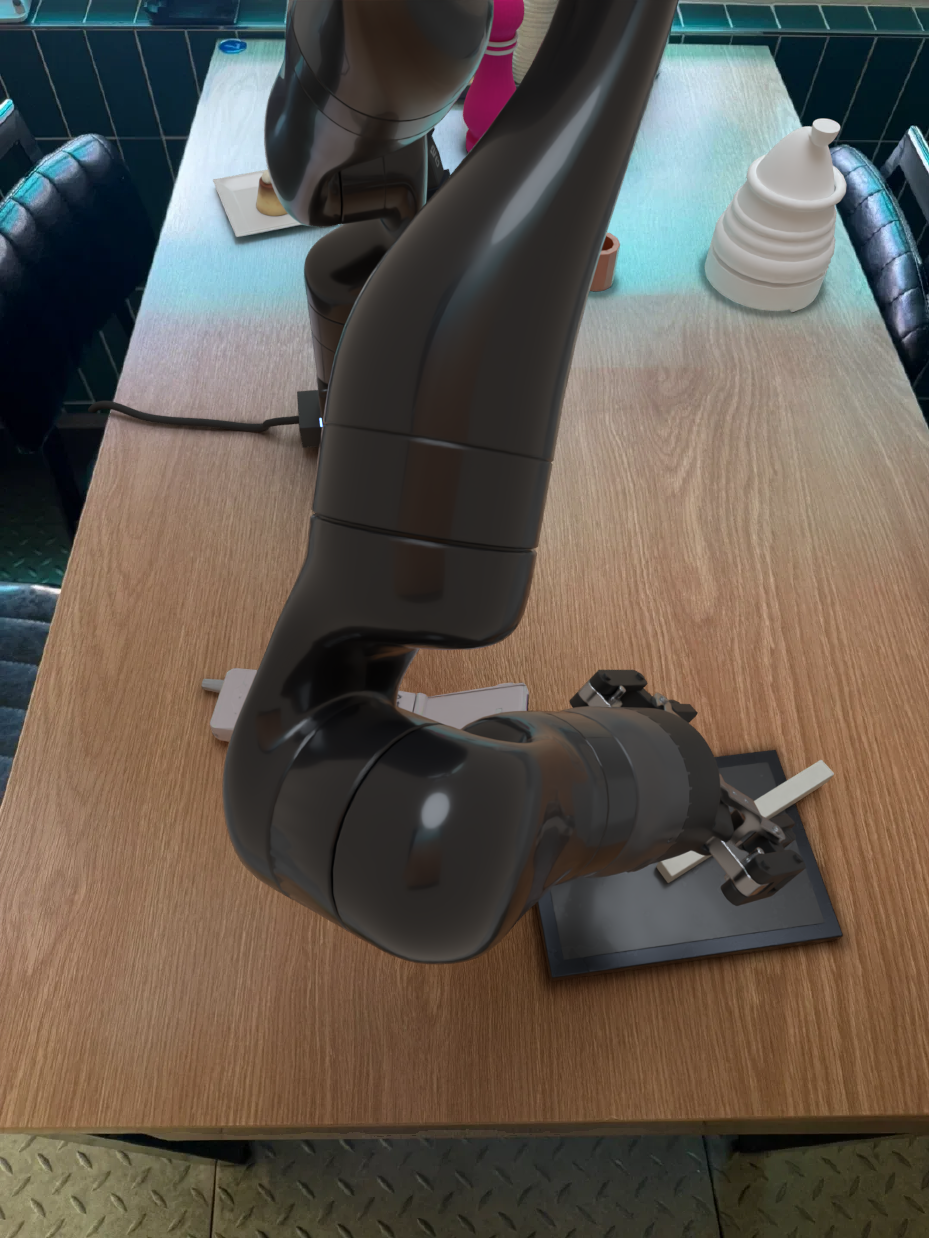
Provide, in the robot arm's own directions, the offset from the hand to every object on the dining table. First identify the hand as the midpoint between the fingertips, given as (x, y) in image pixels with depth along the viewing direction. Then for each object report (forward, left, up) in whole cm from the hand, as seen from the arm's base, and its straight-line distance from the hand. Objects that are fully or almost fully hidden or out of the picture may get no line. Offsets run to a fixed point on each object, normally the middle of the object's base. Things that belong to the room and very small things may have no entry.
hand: (729, 772), depth 57 cm
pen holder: (+8, +64, -13) cm, 66 cm away
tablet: (-1, -1, -13) cm, 13 cm away
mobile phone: (-22, +12, -13) cm, 29 cm away
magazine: (-13, +72, -13) cm, 75 cm away
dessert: (-26, +82, -13) cm, 87 cm away
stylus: (-2, -2, -11) cm, 11 cm away
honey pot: (+27, +63, -13) cm, 70 cm away
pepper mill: (+1, +92, -13) cm, 93 cm away
